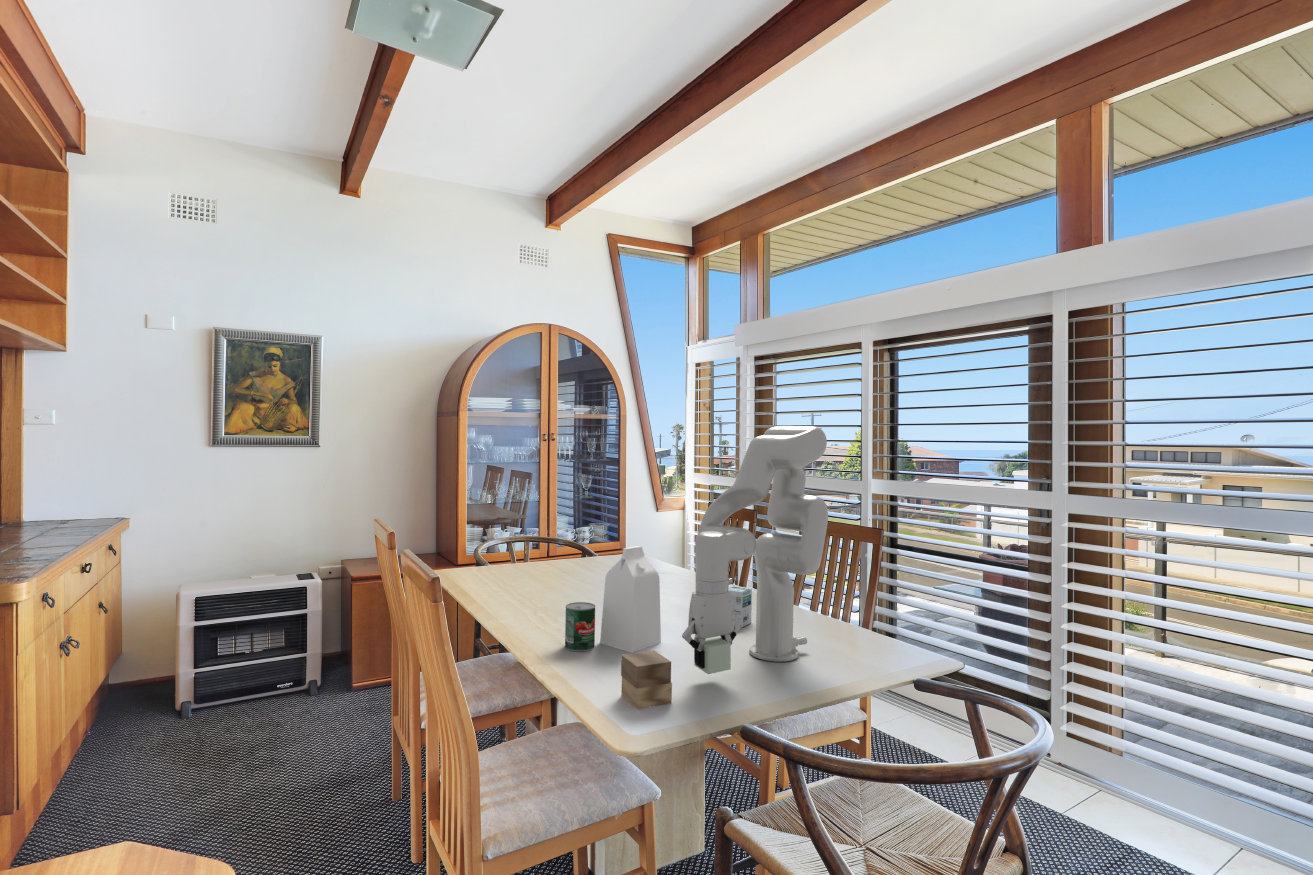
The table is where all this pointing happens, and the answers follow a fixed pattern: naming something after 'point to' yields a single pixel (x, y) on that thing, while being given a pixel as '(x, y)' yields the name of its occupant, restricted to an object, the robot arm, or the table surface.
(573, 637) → the canned tomato
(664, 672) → the walnut slab
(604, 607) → the milk
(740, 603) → the light bulb box
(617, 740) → the table surface
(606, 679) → the table surface
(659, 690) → the oak slab
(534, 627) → the table surface
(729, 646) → the sage cube
